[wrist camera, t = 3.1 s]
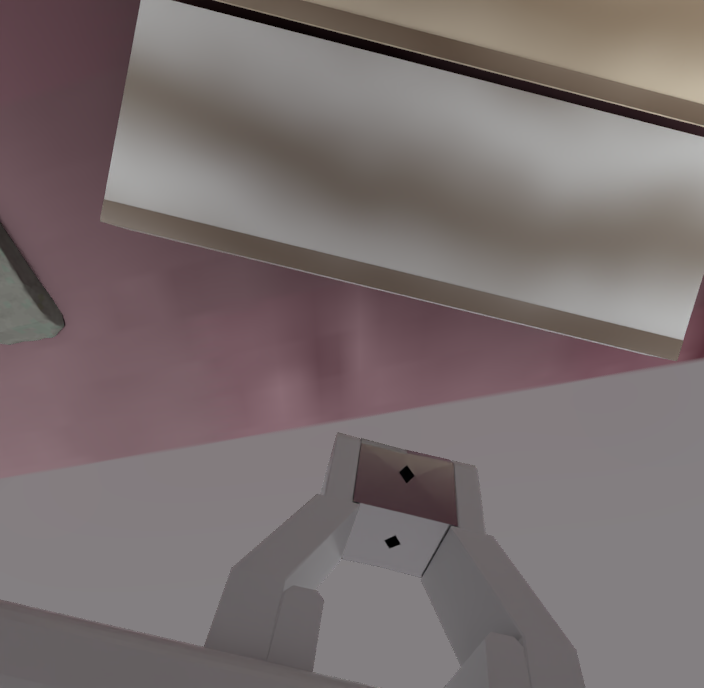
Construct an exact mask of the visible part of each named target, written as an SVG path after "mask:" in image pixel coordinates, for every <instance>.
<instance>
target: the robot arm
mask: <svg viewBox="0 0 704 688" xmlns="http://www.w3.org/2000/svg"><path fill="white" fill-rule="evenodd" d="M341 559H344V560H349V561H353V562H358V563H364V564H368V565H373V566H377V567H382V568H386V569H389V570H393V571H397V572H401V573H404V574H408V575H412V576H416V577H419V578H422V579H421V582H422V584H423V586H424V588H425V590H426V592H427V595H428V597H429V599H430V601H431V603H432V605H433V607H434V610H435V612H436V614H437V616H438V618H439V620H440V623H441V624H442V627H443V629H444V631H445V633H446V635H447V638H448V640H449V642H450V644H451V646H452V648H453V650H454V653H455V655H456V657H457V659H458V661H459V663H460V666H461V668H460V669H459V670H458V671H457V672H456V674H455V675H454V676H453V677H452V679H451V680H450V681H449V682H448V683H447V685H446V686H445V687H444V688H585V684H584V680H583V676H582V672H581V668H580V664H579V660H578V655H577V651H576V649H575V648H574V646H573V645H572V644H571V642H570V641H569V639H568V638H567V637H566V636H565V634H564V633H563V631H562V630H561V629H560V627H559V626H558V624H557V623H556V622H555V620H554V619H553V618H552V616H551V615H550V614H549V612H548V611H547V609H546V608H545V607H544V605H543V604H542V602H541V601H540V600H539V598H538V597H537V596H536V594H535V593H534V592H533V590H532V589H531V588H530V586H529V585H528V583H527V582H526V581H525V579H524V578H523V576H522V575H521V574H520V572H519V571H518V570H517V568H516V567H515V566H514V564H513V563H512V561H511V560H510V559H509V557H508V556H507V555H506V553H505V552H504V550H503V549H502V548H501V546H500V545H499V544H498V542H497V541H496V539H495V538H494V537H493V536H491V535H487V534H486V532H485V523H484V516H483V507H482V500H481V492H480V484H479V476H478V470H477V468H476V467H475V466H474V465H470V464H465V463H461V462H457V461H450V460H448V459H444V458H440V457H435V456H431V455H427V454H422V453H418V452H414V451H409V450H403V449H400V448H396V447H392V446H389V445H385V444H381V443H378V442H374V441H370V440H366V439H362V438H361V439H360V438H357V437H353V436H350V435H346V434H342V433H337V435H336V438H335V442H334V445H333V449H332V452H331V456H330V460H329V463H328V466H327V470H326V474H325V478H324V482H323V486H322V490H321V494H317V495H315V496H314V497H313V498H312V499H311V500H310V501H308V502H307V503H306V504H305V505H304V506H303V507H302V508H300V509H299V510H298V511H297V512H296V513H295V514H293V515H292V516H291V517H290V518H289V519H288V520H286V521H285V522H284V523H283V524H282V525H281V526H280V527H278V528H277V529H276V530H275V531H274V532H273V533H271V534H270V535H269V536H268V537H267V538H266V539H264V540H263V541H262V542H261V543H260V544H259V545H257V547H255V548H254V549H253V550H252V551H251V552H249V553H248V554H247V555H246V556H245V557H244V558H243V559H241V560H240V561H239V562H238V563H237V564H236V565H234V566H233V567H232V568H231V571H230V574H229V577H228V580H227V582H226V585H225V588H224V591H223V594H222V597H221V599H220V602H219V605H218V608H217V611H216V614H215V617H214V619H213V622H212V625H211V628H210V631H209V633H208V636H207V639H206V642H205V645H204V647H203V646H198V645H194V644H190V643H186V642H181V641H177V640H173V639H168V638H164V637H160V636H156V635H151V634H146V633H142V632H138V631H134V630H130V629H125V628H121V627H116V626H112V625H108V624H103V623H99V622H95V621H90V620H86V619H82V618H78V617H73V616H69V615H65V614H61V613H56V612H52V611H47V610H43V609H39V608H34V607H30V606H26V605H21V604H17V603H12V602H9V601H4V600H0V688H379V687H375V686H371V685H367V684H363V683H358V682H354V681H350V680H345V679H341V678H337V677H332V676H328V675H323V674H319V673H315V672H313V666H314V660H315V653H316V647H317V641H318V634H319V628H320V622H321V615H322V610H323V603H324V600H323V598H322V597H321V595H320V594H319V593H318V591H317V590H316V589H317V588H318V587H319V585H320V584H321V583H322V582H323V581H324V580H325V578H326V577H327V576H328V575H329V574H330V573H331V571H332V570H333V569H334V568H335V567H336V566H337V564H338V563H339V562H340V560H341Z"/></svg>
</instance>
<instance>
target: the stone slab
mask: <svg viewBox="0 0 704 688" xmlns="http://www.w3.org/2000/svg"><path fill="white" fill-rule="evenodd" d="M63 327H64V322H63V316H62V313H61V312H60V310H59V309H58V307H57V306H56V304H55V303H54V301H53V300H52V298H51V297H50V295H49V294H48V292H47V291H46V290H45V288H44V287H43V286H42V284H41V283H40V281H39V280H38V279H37V277H36V276H35V274H34V273H33V271H32V270H31V268H30V267H29V266H28V264H27V263H26V261H25V260H24V258H23V257H22V255H21V254H20V252H19V250H18V249H17V247H16V246H15V244H14V243H13V241H12V240H11V238H10V237H9V236H8V234H7V232H6V231H5V229H4V228H3V226H2V225H1V223H0V344H8V345H11V344H15V343H19V342H24V341H35V340H41V339H43V338H52V337H55V336H56V335H57V333H58V332H59V331H60V330H61V329H62V328H63Z"/></svg>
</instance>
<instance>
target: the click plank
mask: <svg viewBox="0 0 704 688" xmlns="http://www.w3.org/2000/svg"><path fill="white" fill-rule="evenodd" d="M100 221H101V222H104V223H107V224H111V225H114V226H118V227H121V228H124V229H128V230H132V231H136V232H141V233H145V234H149V235H153V236H157V237H161V238H165V239H169V240H174V241H178V242H182V243H186V244H190V245H194V246H198V247H202V248H207V249H211V250H215V251H219V252H223V253H227V254H231V255H235V256H240V257H244V258H248V259H252V260H256V261H260V262H264V263H269V264H273V265H277V266H281V267H285V268H289V269H293V270H297V271H302V272H306V273H310V274H314V275H318V276H322V277H326V278H330V279H335V280H339V281H343V282H347V283H351V284H355V285H359V286H363V287H368V288H372V289H376V290H380V291H384V292H388V293H392V294H396V295H401V296H405V297H409V298H413V299H417V300H421V301H425V302H429V303H434V304H438V305H442V306H446V307H450V308H454V309H458V310H462V311H467V312H471V313H475V314H479V315H483V316H487V317H491V318H495V319H500V320H504V321H508V322H512V323H516V324H520V325H524V326H528V327H533V328H537V329H541V330H545V331H549V332H553V333H557V334H561V335H566V336H570V337H574V338H578V339H582V340H586V341H590V342H594V343H599V344H603V345H607V346H611V347H615V348H619V349H623V350H627V351H632V352H636V353H640V354H644V355H649V356H654V357H659V358H664V359H669V360H674V361H677V359H678V356H679V353H680V350H681V346H682V343H683V339H684V336H685V332H686V329H687V326H688V323H689V319H690V316H691V313H692V310H693V307H694V303H695V300H696V297H697V294H698V290H699V287H700V284H701V281H702V277H703V274H704V137H700V136H697V135H693V134H689V133H685V132H681V131H677V130H673V129H669V128H666V127H662V126H658V125H654V124H650V123H646V122H642V121H638V120H634V119H631V118H627V117H623V116H619V115H615V114H611V113H607V112H603V111H600V110H596V109H592V108H588V107H584V106H580V105H576V104H572V103H569V102H565V101H561V100H557V99H553V98H549V97H545V96H541V95H537V94H534V93H530V92H526V91H522V90H518V89H514V88H510V87H506V86H503V85H499V84H495V83H491V82H487V81H483V80H479V79H475V78H471V77H468V76H464V75H460V74H456V73H452V72H448V71H444V70H440V69H437V68H433V67H429V66H425V65H421V64H417V63H413V62H409V61H406V60H402V59H398V58H394V57H390V56H386V55H382V54H378V53H374V52H371V51H367V50H363V49H359V48H355V47H351V46H347V45H343V44H340V43H336V42H332V41H328V40H324V39H320V38H316V37H312V36H308V35H305V34H301V33H297V32H293V31H289V30H285V29H281V28H277V27H274V26H270V25H266V24H262V23H258V22H254V21H250V20H246V19H243V18H239V17H235V16H231V15H227V14H223V13H219V12H215V11H211V10H208V9H204V8H200V7H196V6H192V5H188V4H184V3H180V2H177V1H173V0H141V2H140V7H139V13H138V18H137V24H136V29H135V34H134V40H133V45H132V51H131V56H130V62H129V67H128V72H127V78H126V83H125V89H124V94H123V99H122V105H121V110H120V116H119V121H118V127H117V132H116V137H115V143H114V148H113V154H112V159H111V164H110V170H109V175H108V181H107V186H106V192H105V197H104V201H103V206H102V212H101V217H100Z"/></svg>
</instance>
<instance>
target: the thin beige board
mask: <svg viewBox="0 0 704 688" xmlns="http://www.w3.org/2000/svg"><path fill="white" fill-rule="evenodd" d="M214 1H218V2H222V3H226V4H229V5H233V6H237V7H241V8H245V9H249V10H253V11H257V12H260V13H264V14H268V15H272V16H276V17H280V18H284V19H288V20H291V21H295V22H299V23H303V24H307V25H311V26H315V27H319V28H322V29H326V30H330V31H334V32H338V33H342V34H346V35H349V36H353V37H357V38H361V39H365V40H369V41H373V42H377V43H380V44H384V45H388V46H392V47H396V48H400V49H404V50H408V51H411V52H415V53H419V54H423V55H427V56H431V57H435V58H439V59H442V60H446V61H450V62H454V63H458V64H462V65H466V66H469V67H473V68H477V69H481V70H485V71H489V72H493V73H497V74H500V75H504V76H508V77H512V78H516V79H520V80H524V81H528V82H531V83H535V84H539V85H543V86H547V87H551V88H555V89H558V90H562V91H566V92H570V93H574V94H578V95H582V96H586V97H589V98H593V99H597V100H601V101H605V102H609V103H613V104H617V105H620V106H624V107H628V108H632V109H636V110H640V111H644V112H648V113H651V114H655V115H659V116H663V117H667V118H671V119H675V120H678V121H682V122H686V123H690V124H694V125H698V126H702V127H704V0H214Z"/></svg>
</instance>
